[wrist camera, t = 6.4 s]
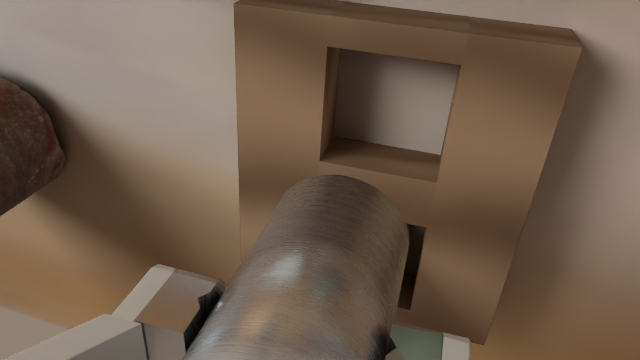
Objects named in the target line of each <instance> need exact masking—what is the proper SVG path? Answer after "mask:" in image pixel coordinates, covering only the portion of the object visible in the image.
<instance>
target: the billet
mask: <svg viewBox="0 0 640 360" xmlns="http://www.w3.org/2000/svg"><path fill="white" fill-rule="evenodd" d="M408 246H409V234H408V229H407V225H406V223H405V220H404V218H403V216H402V214H401V212H400V211H399V209H398V208H397V207H396V205H395V204H394V203H393V202H392V201H391V200H390V199H389V198H388V197H387V196H386V195H385V194H384V193H383V192H381V191H380V190H378V189H377V188H375V187H374V186H372V185H370V184H368V183H366V182H364V181H361V180H359V179H356V178H352V177H348V176H343V175H319V176H314V177H310V178H307V179H305V180H302V181H300V182H299V183H297V184H295V185H294V186H293V187H291V188H290V189H289V190H288V191H287V192H286V193H285V194H284V196H283V197H282V199H281V200H280V202H279V203H278V205H277V207H276V208H275V210H274V211H273V213H272V215H271V216H270V218H269V220H268V221H267V223H266V224H265V226H264V228H263V229H262V231H261V233H260V234H259V236H258V237H257V239H256V241H255V242H254V244H253V245H252V247H251V249H250V250H249V252H248V254H247V255H246V257H245V258H244V260H243V262H242V263H241V265H240V266H239V268H238V270H237V271H236V273H235V275H234V276H233V278H232V279H231V281H230V283H229V284H228V286H227V288H226V289H225V291H224V292H223V294H222V296H221V297H220V299H219V300H218V302H217V304H216V305H215V307H214V309H213V310H212V312H211V313H210V315H209V317H208V318H207V320H206V321H205V323H204V325H203V326H202V328H201V330H200V331H199V333H198V334H197V336H196V338H195V339H194V341H193V343H192V344H191V346H190V347H189V349H188V351H187V352H186V354H185V355H184V357H183V359H182V360H385V358H386V353H387V348H388V343H389V338H390V333H391V328H392V324H393V321H394V320H395V315H396V310H397V304H398V299H399V294H400V289H401V284H402V279H403V273H404V268H405V263H406V258H407V253H408Z"/></svg>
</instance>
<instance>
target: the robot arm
mask: <svg viewBox="0 0 640 360" xmlns="http://www.w3.org/2000/svg"><path fill="white" fill-rule="evenodd" d="M224 291H225V285H224V282H223V281H221V280H219V279H215V278H211V277H208V276H204V275H200V274H196V273H193V272H189V271H185V270H181V269H176V268H172V267H169V266H165V265H161V264H157V265H155V266H153V267H152V268H151V269H150V270H149V271H148V272H147V273H146V275H145V276H144V277H143V278H142V279H141V280H140V282H139V283H138V284H137V285H136V286H135V287H134V289H133V290H132V291H131V292H130V293H129V295H128V296H127V297H126V298H125V299H124V300H123V302H122V303H121V304H120V305H119V306H118V307H117V309H116V310H115V311H114V312H113V313H112V315H107V314H103V315H101V316H99V317H96V318H94V319H92V320H90V321H87V322H85V323H83V324H81V325H78V326H76V327H74V328H72V329H69V330H67V331H65V332H63V333H61V334H58V335H56V336H54V337H52V338H50V339H47V340H45V341H43V342H41V343H38V344H36V345H34V346H32V347H29V348H27V349H25V350H23V351H21V352H18V353H16V354H14V355H12V356H9V357H7V358H5V359H2V360H182V359H183V357H184V355H185V354H186V352H187V351H188V349H189V347H190V346H191V344H192V343H193V341H194V339H195V338H196V336H197V334H198V333H199V331H200V330H201V328H202V326H203V325H204V323H205V321H206V320H207V318H208V317H209V315H210V313H211V312H212V310H213V309H214V307H215V305H216V304H217V302H218V300H219V299H220V297H221V296H222V294H223V292H224ZM470 348H471V343H470V340H469V338H465V337H461V336H457V335H452V334H448V333H443V334H442V332H439V331H435V330H430V329H426V328H422V327H417V326H413V325H409V324H404V323H400V322H396V321H393V324H392V328H391V333H390V338H389V343H388V348H387V353H386V358H385V360H470Z"/></svg>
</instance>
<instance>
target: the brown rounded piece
mask: <svg viewBox="0 0 640 360" xmlns="http://www.w3.org/2000/svg"><path fill="white" fill-rule="evenodd" d="M64 160H65V156H64V152H63V151H62V149H61V148H60V146H59V141H58V139H57V137H56V134H55V131H54V129H53V125H52V122H51V120H50V117H49V114H48V113H47V112H46V111H45V110H44V109H43V108H42V107H41V106H40V105H39V104H38V102H37V101H36V100H35V98H33V97H32V96H31V95H30V94H29V93H27V92H25V91H23V90H21V89H20V88H19V86H18V85H16V84H14V83H12V82H11V81H9V80H6V79H4V78H1V77H0V216H1V215H3V214H4V213H6V212H7V211H9V210H10V209H12V208H13V207H15V206H16V205H17V204H19V203H20V202H22V201H23V200H25V199H26V198H28V197H29V196H30V195H32V194H33V193H35V192H36V191H37V190H39V189H40V188H42V187H43V186H45V185H46V184H48V183H49V182H50V181H52V180H53V179H55V178H56V177H57V176H58V173H59V172H60V171H61V169H62V167H63V164H64Z"/></svg>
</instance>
